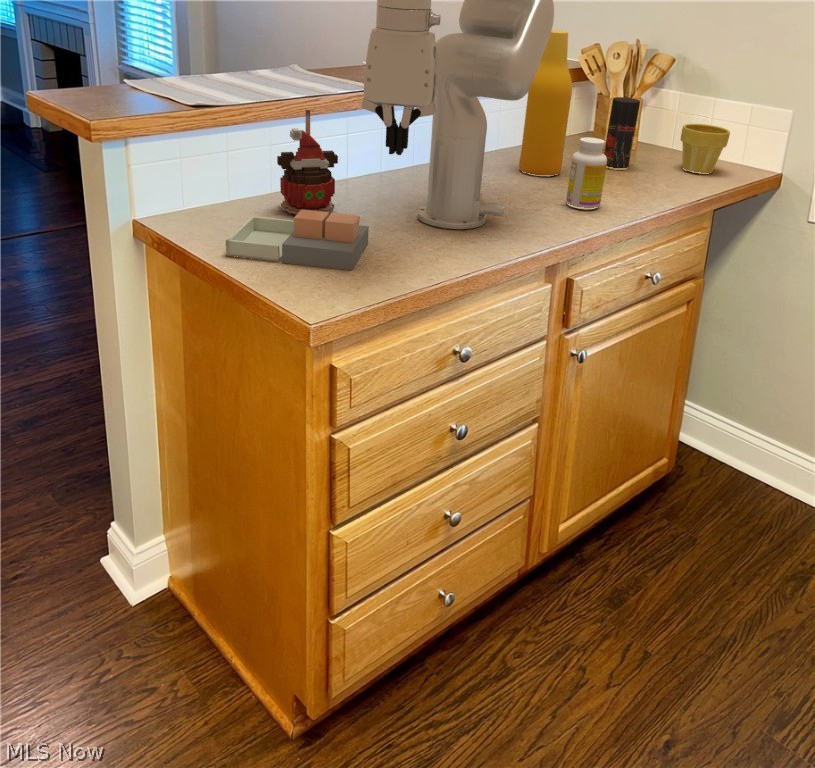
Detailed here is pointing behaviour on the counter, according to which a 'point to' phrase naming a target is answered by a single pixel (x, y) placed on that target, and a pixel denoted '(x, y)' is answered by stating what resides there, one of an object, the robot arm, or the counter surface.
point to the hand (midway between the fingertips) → (396, 152)
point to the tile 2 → (342, 227)
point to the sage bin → (260, 238)
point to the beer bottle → (547, 110)
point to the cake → (307, 174)
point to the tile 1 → (310, 224)
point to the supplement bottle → (587, 174)
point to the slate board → (324, 251)
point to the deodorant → (621, 131)
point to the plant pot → (702, 146)
